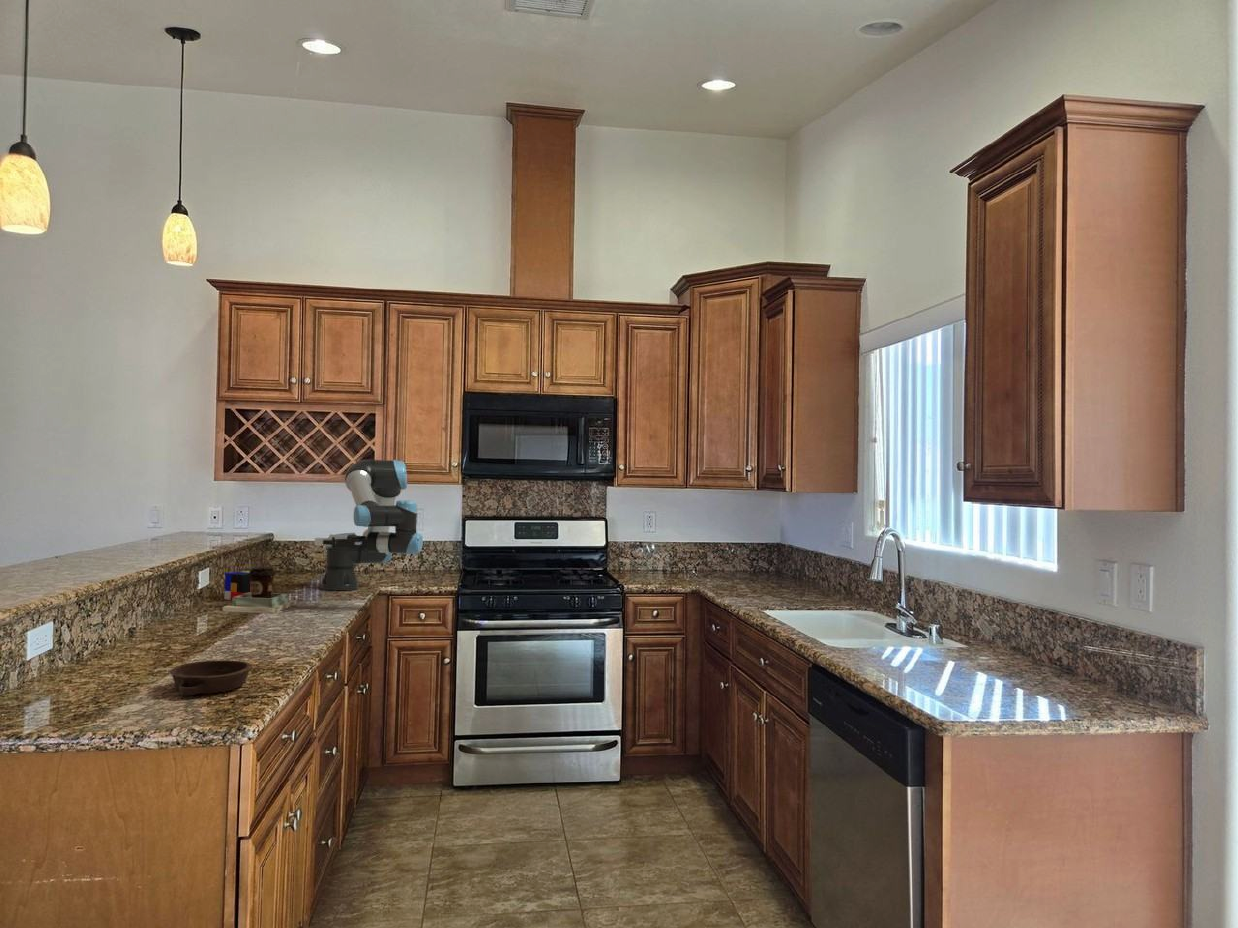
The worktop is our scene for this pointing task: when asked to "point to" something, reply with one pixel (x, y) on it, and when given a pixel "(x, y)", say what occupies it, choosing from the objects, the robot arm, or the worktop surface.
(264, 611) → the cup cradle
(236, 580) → the puzzle toy
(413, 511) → the robot arm
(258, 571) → the coffee cup
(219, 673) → the dish
